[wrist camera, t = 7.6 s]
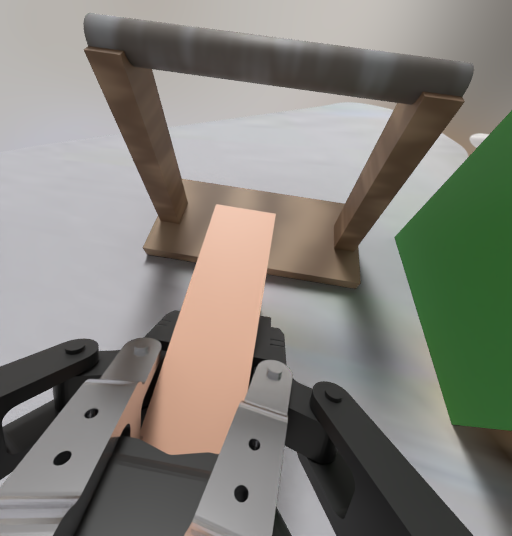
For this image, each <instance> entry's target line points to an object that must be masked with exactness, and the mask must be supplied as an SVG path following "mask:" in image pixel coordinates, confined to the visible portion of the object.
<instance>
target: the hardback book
mask: <svg viewBox="0 0 512 536" xmlns="http://www.w3.org/2000/svg"><path fill="white" fill-rule="evenodd" d="M395 240H396V244H397V247H398V250H399V254H400V257H401V260H402V263H403V267H404V270H405V273H406V276H407V280H408V283H409V286H410V290H411V293H412V296H413V299H414V303H415V306H416V309H417V312H418V316H419V319H420V322H421V325H422V329H423V332H424V335H425V339H426V342H427V345H428V348H429V352H430V355H431V358H432V361H433V365H434V368H435V371H436V374H437V378H438V381H439V384H440V388H441V391H442V394H443V397H444V401H445V404H446V407H447V410H448V414H449V417H450V420H451V424H452V425H462V426H471V427H481V428H490V429H500V430H509V431H512V111H511V112H510V113H509V114H508V115H507V116H506V117H505V118H504V119H503V120H502V122H501V123H500V124H499V125H498V126H497V127H496V128H495V129H494V130H493V131H492V132H491V133H490V135H489V136H488V137H487V138H486V139H485V140H484V141H483V142H482V143H481V144H480V145H479V146H478V147H477V149H476V150H475V151H474V152H473V153H472V154H471V155H470V156H469V157H468V158H467V159H466V160H465V162H464V163H463V164H462V165H461V166H460V167H459V168H458V169H457V170H456V171H455V172H454V173H453V175H452V176H451V177H450V178H449V179H448V180H447V181H446V182H445V183H444V184H443V185H442V186H441V188H440V189H439V190H438V191H437V192H436V193H435V194H434V195H433V196H432V197H431V198H430V199H429V201H428V202H427V203H426V204H425V205H424V206H423V207H422V208H421V209H420V210H419V211H418V212H417V214H416V215H415V216H414V217H413V218H412V219H411V220H410V221H409V222H408V223H407V224H406V225H405V227H404V228H403V229H402V230H401V231H400V232H399V233H398V234H397V235H396V236H395Z"/></svg>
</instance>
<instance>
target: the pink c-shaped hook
mask: <svg viewBox="0 0 512 536" xmlns="http://www.w3.org/2000/svg"><path fill="white" fill-rule="evenodd" d="M275 217H276V214H274V213H268V212H262V211H256V210H249V209H243V208H237V207H231V206H225V205H218V204H216V206H215V209H214V212H213V215H212V218H211V221H210V224H209V227H208V230H207V233H206V236H205V239H204V242H203V245H202V248H201V251H200V254H199V257H198V260H197V263H196V266H195V269H194V272H193V275H192V278H191V281H190V284H189V287H188V290H187V293H186V296H185V299H184V302H183V305H182V308H181V311H180V314H179V317H178V320H177V323H176V326H175V329H174V332H173V335H172V338H171V341H170V344H169V347H168V350H167V353H166V356H165V359H164V362H163V365H162V368H161V371H160V374H159V377H158V380H157V383H156V386H155V389H154V392H153V395H152V398H151V401H150V404H149V407H148V410H147V413H146V416H145V419H144V421H143V424H142V427H141V430H140V436H143V440H142V441H144V442H146V443H148V444H150V445H152V446H154V447H155V448H157V449H159V450H161V451H163V452H165V453H167V454H170V455H178V454H191V453H205V452H210V453H215V454H219V453H220V451H221V448H222V446H223V443H224V441H225V438H226V436H227V433H228V431H229V428H230V426H231V423H232V421H233V418H234V416H235V413H236V411H237V408H238V406H239V404H240V402H241V400H243V401H244V399H245V397H246V394H247V392H248V386H249V380H250V373H251V367H252V361H253V355H254V348H255V342H256V336H257V329H258V323H259V317H260V311H261V304H262V298H263V292H264V286H265V279H266V273H267V267H268V260H269V254H270V248H271V242H272V235H273V229H274V223H275Z"/></svg>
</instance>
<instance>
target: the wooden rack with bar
mask: <svg viewBox="0 0 512 536" xmlns="http://www.w3.org/2000/svg"><path fill="white" fill-rule="evenodd" d="M84 33H85V37H86V41H87V44H88V47H87V48H85V49H84V51H85V54H86V56H87V58H88V60H89V62H90V65H91V67H92V69H93V72H94V74H95V76H96V78H97V80H98V83H99V85H100V87H101V89H102V91H103V94H104V96H105V98H106V100H107V103H108V105H109V107H110V109H111V112H112V114H113V116H114V118H115V120H116V123H117V125H118V127H119V129H120V132H121V134H122V136H123V138H124V141H125V143H126V145H127V147H128V149H129V152H130V154H131V156H132V158H133V161H134V163H135V165H136V167H137V169H138V172H139V174H140V176H141V178H142V181H143V183H144V185H145V187H146V190H147V192H148V194H149V196H150V198H151V201H152V203H153V205H154V207H155V210H156V212H157V214H158V217H157V219H156V221H155V223H154V225H153V227H152V229H151V231H150V233H149V236H148V238H147V240H146V242H145V244H144V246H143V249H144V250H145V252H146V254H148V255H154V256H160V257H166V258H172V259H178V260H184V261H190V262H196V263H197V260H198V257H199V254H200V251H201V248H202V245H203V242H204V239H205V236H206V233H207V230H208V227H209V224H210V221H211V218H212V215H213V212H214V209H215V206H216V204H218V205H225V206H231V207H237V208H243V209H249V210H256V211H262V212H268V213H274V214H276V217H275V223H274V229H273V235H272V242H271V248H270V254H269V260H268V267H267V273H266V274H269V275H275V276H281V277H287V278H293V279H300V280H306V281H312V282H318V283H324V284H330V285H336V286H342V287H348V288H354V289H356V288H357V287H358V286H359V285H360V284H361V281H360V266H359V250H358V245H359V244H360V242H361V241H362V240H363V238H364V237H365V236H366V234H367V233H368V232H369V230H370V229H371V228H372V226H373V225H374V224H375V222H376V221H377V220H378V218H379V217H380V215H381V214H382V213H383V211H384V210H385V209H386V207H387V206H388V205H389V203H390V202H391V201H392V199H393V198H394V197H395V195H396V194H397V192H398V191H399V190H400V188H401V187H402V186H403V184H404V183H405V182H406V180H407V179H408V178H409V176H410V175H411V174H412V172H413V171H414V170H415V168H416V167H417V165H418V164H419V163H420V161H421V160H422V159H423V157H424V156H425V155H426V153H427V152H428V151H429V149H430V148H431V147H432V145H433V144H434V143H435V141H436V140H437V138H438V137H439V136H440V134H441V133H442V131H443V130H444V129H445V128H446V126H447V125H448V124H449V122H450V121H451V120H452V118H453V117H454V115H455V114H456V113H457V111H458V110H459V109H460V107H461V106H462V105H463V103H464V99H463V98H462V96H463V95H464V93H465V91H466V89H467V88H468V86H469V84H470V82H471V79H472V76H473V71H474V66H473V64H472V63H468V62H460V61H452V60H445V59H437V58H430V57H422V56H413V55H406V54H399V53H391V52H384V51H376V50H368V49H361V48H353V47H345V46H338V45H330V44H323V43H315V42H306V41H299V40H292V39H284V38H276V37H268V36H261V35H253V34H245V33H238V32H230V31H223V30H215V29H208V28H200V27H192V26H184V25H176V24H169V23H162V22H153V21H146V20H139V19H131V18H124V17H116V16H107V15H100V14H93V13H88V14H87V15H86V16H85V18H84ZM152 69H156V70H163V71H171V72H177V73H185V74H192V75H199V76H207V77H214V78H221V79H228V80H236V81H244V82H250V83H257V84H265V85H272V86H279V87H287V88H294V89H301V90H309V91H315V92H323V93H331V94H337V95H345V96H352V97H359V98H366V99H374V100H381V101H389V102H395V103H397V105H396V107H395V109H394V111H393V113H392V114H391V116H390V118H389V120H388V122H387V124H386V126H385V128H384V130H383V132H382V134H381V136H380V138H379V140H378V141H377V143H376V145H375V147H374V149H373V151H372V153H371V155H370V157H369V159H368V161H367V163H366V165H365V167H364V168H363V170H362V172H361V174H360V176H359V178H358V180H357V182H356V184H355V186H354V188H353V190H352V192H351V194H350V195H349V197H348V199H347V201H346V203H345V204H343V203H336V202H330V201H323V200H317V199H310V198H303V197H297V196H290V195H284V194H277V193H271V192H264V191H258V190H251V189H245V188H238V187H232V186H225V185H218V184H212V183H205V182H199V181H192V180H186V179H181V175H180V171H179V168H178V164H177V160H176V157H175V153H174V149H173V146H172V142H171V138H170V134H169V131H168V127H167V123H166V120H165V116H164V112H163V109H162V105H161V101H160V98H159V94H158V90H157V86H156V83H155V79H154V75H153V72H152Z"/></svg>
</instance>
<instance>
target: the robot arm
mask: <svg viewBox="0 0 512 536" xmlns="http://www.w3.org/2000/svg"><path fill="white" fill-rule="evenodd" d="M180 311H181V310H180ZM180 311H173V312H170V313H168V314H166V315H165V316H164V318H163V319H162V320H161V321H160V322H159V323H158V324H157V325H156V326H155V327H154V328H153V329H152V330H151V331H150V332H149V333H148V334H147V335H146V336H145V337H144V338H138V339H134V340H131V341H129V342H128V343H126V344H125V345H124V346H123V348H122V349H121V350H116V351H99V349H98V343H97V342H96V341H94V340H91V339H75V340H71V341H67V342H64V343H62V344H59V345H56V346H54V347H51V348H49V349H46V350H43V351H41V352H38V353H35V354H33V355H30V356H27V357H25V358H22V359H19V360H17V361H14V362H11V363H9V364H6V365H4V366H1V367H0V480H1V479H2V478H4V477H5V476H7V475H8V474H10V473H11V472H12V473H11V474H10V476H9V477H8V478H7V479H6V481H5V482H4V483H3V485H2V486H1V487H0V536H292V535H291V534H290V532H289V530H288V528H287V526H286V524H285V522H284V520H283V518H282V517H281V515H280V513H279V511H278V509H277V507H276V503H277V496H278V489H279V481H280V474H281V467H282V459H283V452H284V445H285V446H287V447H289V448H291V449H293V450H294V451H296V452H297V454H298V457H299V460H300V462H301V464H302V466H303V468H304V470H305V472H306V474H307V476H308V478H309V480H310V482H311V484H312V486H313V488H314V490H315V493H316V495H317V497H318V499H319V501H320V503H321V505H322V507H323V509H324V511H325V513H326V515H327V517H328V519H329V521H330V523H331V525H332V527H333V530H334V532H335V534H336V536H473V535H472V533H471V532H470V531H469V530H468V529H467V528H466V527H465V526H464V524H463V523H462V522H461V521H460V520H459V519H458V518H457V516H456V515H455V514H454V513H453V512H452V511H451V510H450V508H449V507H448V506H447V505H446V504H445V503H444V502H443V500H442V499H441V498H440V497H439V496H438V495H437V494H436V493H435V491H434V490H433V489H432V488H431V487H430V486H429V485H428V483H427V482H426V481H425V480H424V479H423V478H422V477H421V475H420V474H419V473H418V472H417V471H416V470H415V469H414V467H413V466H412V465H411V464H410V463H409V462H408V461H407V460H406V458H405V457H404V456H403V455H402V454H401V453H400V452H399V450H398V449H397V448H396V447H395V446H394V445H393V444H392V442H391V441H390V440H389V439H388V438H387V437H386V436H385V435H384V433H383V432H382V431H381V430H380V429H379V428H378V427H377V425H376V424H375V423H374V422H373V421H372V420H371V419H370V417H369V416H368V415H367V414H366V413H365V412H364V411H363V409H362V408H361V407H360V406H359V405H358V404H357V403H356V402H355V400H354V399H353V398H352V397H351V396H350V395H349V394H348V393H347V391H345V390H344V389H343V388H342V387H340V386H338V385H336V384H334V383H331V382H318V383H316V384H315V385H314V387H313V389H311V388H309V387H307V386H304V385H302V384H300V383H298V382H297V381H295V380H294V379H293V375H292V372H291V370H290V368H289V367H288V366H286V354H285V342H284V334H283V333H282V331H281V330H280V329H278V328H273V327H271V318H270V317H265V316H260V317H259V323H258V329H257V336H256V342H255V348H254V355H253V361H252V367H251V373H250V380H249V386H248V392H247V394H246V397H245V399H244V401H243V400H241V402H240V404H239V406H238V408H237V411H236V413H235V416H234V418H233V421H232V423H231V426H230V428H229V431H228V433H227V436H226V438H225V441H224V443H223V446H222V448H221V451H220V453H219V454H215V453H210V452H205V453H191V454H178V455H170V454H167V453H165V452H163V451H161V450H159V449H157V448H155V447H154V446H152V445H150V444H148V443H146V442H144V441H142V440H143V436H140V430H141V427H142V424H143V421H144V419H145V416H146V413H147V410H148V407H149V404H150V401H151V398H152V395H153V392H154V389H155V386H156V383H157V380H158V377H159V374H160V371H161V368H162V365H163V362H164V359H165V356H166V353H167V350H168V347H169V344H170V341H171V338H172V335H173V332H174V329H175V326H176V323H177V320H178V317H179V314H180ZM52 387H53V395H54V400H52V401H50V402H48V403H46V404H45V405H43V406H41V407H39V408H37V409H35V410H33V411H32V412H30V413H28V414H26V415H24V416H22V417H20V418H18V419H17V420H15V421H13V422H11V423H9V424H7V425H5V426H3V427H2V420H3V418H4V416H5V415H6V413H7V412H8V411H9V410H11V409H12V408H13V407H15V406H17V405H18V404H20V403H22V402H24V401H26V400H28V399H30V398H32V397H34V396H36V395H38V394H40V393H42V392H44V391H46V390H48V389H50V388H52Z"/></svg>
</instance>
